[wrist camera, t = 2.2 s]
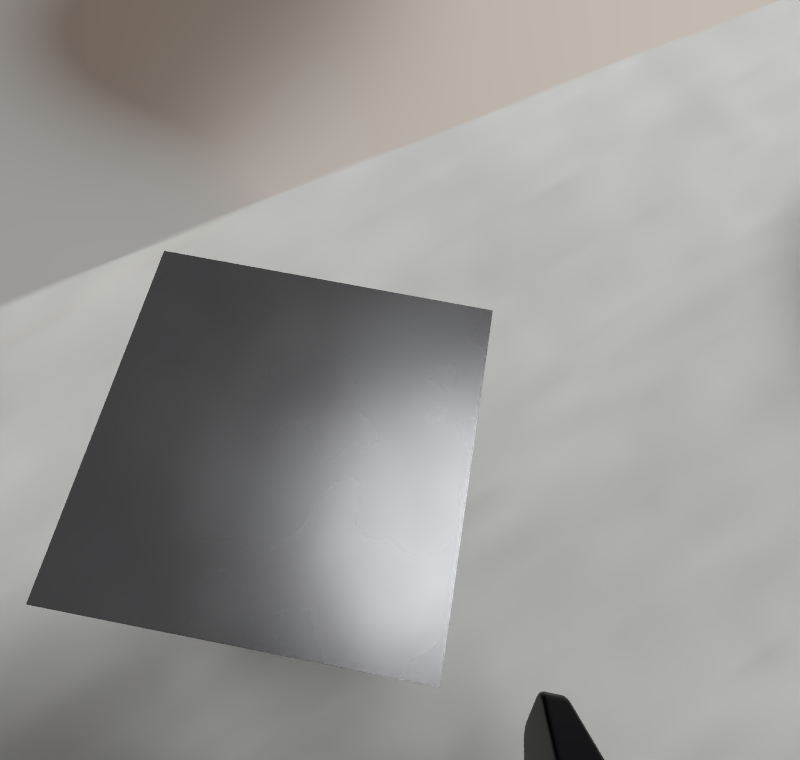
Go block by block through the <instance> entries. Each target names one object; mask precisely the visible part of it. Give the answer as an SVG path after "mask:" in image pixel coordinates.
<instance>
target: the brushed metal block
mask: <svg viewBox="0 0 800 760" xmlns="http://www.w3.org/2000/svg"><path fill="white" fill-rule="evenodd" d="M491 318H492V310H486V309H481V308H475V307H470V306H464V305H459V304H453V303H448V302H442V301H437V300H431V299H426V298H420V297H415V296H409V295H404V294H398V293H393V292H387V291H382V290H376V289H371V288H365V287H360V286H354V285H349V284H343V283H338V282H332V281H327V280H321V279H316V278H310V277H305V276H299V275H294V274H288V273H283V272H277V271H272V270H266V269H261V268H255V267H250V266H244V265H239V264H233V263H228V262H222V261H217V260H211V259H206V258H200V257H195V256H189V255H184V254H178V253H173V252H167V251H164V253H163V255H162V258H161V261H160V263H159V266H158V268H157V271H156V273H155V276H154V278H153V281H152V284H151V286H150V289H149V291H148V294H147V296H146V299H145V302H144V304H143V307H142V309H141V312H140V314H139V317H138V319H137V322H136V325H135V327H134V330H133V332H132V335H131V337H130V340H129V342H128V345H127V348H126V350H125V353H124V355H123V358H122V360H121V363H120V366H119V368H118V371H117V373H116V376H115V378H114V381H113V383H112V386H111V389H110V391H109V394H108V396H107V399H106V401H105V404H104V406H103V409H102V412H101V414H100V417H99V419H98V422H97V424H96V427H95V429H94V432H93V435H92V437H91V440H90V442H89V445H88V447H87V450H86V453H85V455H84V458H83V460H82V463H81V465H80V468H79V470H78V473H77V476H76V478H75V481H74V483H73V486H72V488H71V491H70V493H69V496H68V499H67V501H66V504H65V506H64V509H63V511H62V514H61V517H60V519H59V522H58V524H57V527H56V529H55V532H54V534H53V537H52V540H51V542H50V545H49V547H48V550H47V552H46V555H45V557H44V560H43V563H42V565H41V568H40V570H39V573H38V575H37V578H36V580H35V583H34V586H33V588H32V591H31V593H30V596H29V598H28V601H27V605H32V606H37V607H42V608H47V609H52V610H57V611H62V612H67V613H72V614H77V615H82V616H87V617H92V618H97V619H102V620H107V621H112V622H117V623H122V624H127V625H132V626H137V627H142V628H147V629H152V630H157V631H162V632H167V633H172V634H177V635H182V636H187V637H192V638H197V639H202V640H207V641H212V642H217V643H222V644H227V645H232V646H237V647H242V648H247V649H252V650H257V651H262V652H267V653H272V654H277V655H282V656H287V657H292V658H297V659H302V660H307V661H312V662H317V663H322V664H327V665H332V666H337V667H342V668H347V669H352V670H357V671H362V672H367V673H372V674H377V675H382V676H387V677H392V678H397V679H402V680H407V681H412V682H417V683H422V684H427V685H432V686H437V687H440V685H441V678H442V671H443V663H444V656H445V649H446V642H447V635H448V628H449V620H450V613H451V606H452V599H453V592H454V584H455V577H456V570H457V563H458V556H459V548H460V541H461V534H462V527H463V520H464V513H465V505H466V498H467V491H468V484H469V477H470V469H471V462H472V455H473V448H474V441H475V433H476V426H477V419H478V412H479V405H480V398H481V390H482V383H483V376H484V369H485V362H486V354H487V347H488V340H489V333H490V326H491Z"/></svg>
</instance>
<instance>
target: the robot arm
mask: <svg viewBox="0 0 800 760" xmlns="http://www.w3.org/2000/svg"><path fill="white" fill-rule="evenodd" d="M524 760H604V758H603V757H602V755H601V753H600V752H599V750H598V748H597V747H596V745H595V743H594V742H593V740H592V738H591V737H590V735H589V733H588V732H587V730H586V728H585V726H584V725H583V723H582V721H581V720H580V718H579V716H578V715H577V713H576V711H575V710H574V708H573V706H572V705H571V703H570V701H569V700H568V699H567V698H566V697H565V696H562V695H558V694H553V693H548V692H540V693H539V694H538V696H537V697H536V700H535V702H534V705H533V707H532V710H531V712H530V715H529V717H528V720H527V722H526V726H525V732H524Z"/></svg>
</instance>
